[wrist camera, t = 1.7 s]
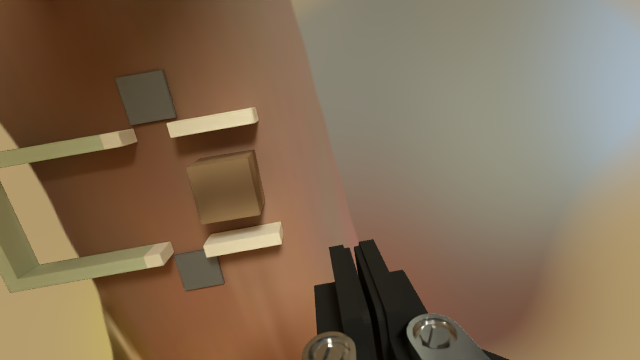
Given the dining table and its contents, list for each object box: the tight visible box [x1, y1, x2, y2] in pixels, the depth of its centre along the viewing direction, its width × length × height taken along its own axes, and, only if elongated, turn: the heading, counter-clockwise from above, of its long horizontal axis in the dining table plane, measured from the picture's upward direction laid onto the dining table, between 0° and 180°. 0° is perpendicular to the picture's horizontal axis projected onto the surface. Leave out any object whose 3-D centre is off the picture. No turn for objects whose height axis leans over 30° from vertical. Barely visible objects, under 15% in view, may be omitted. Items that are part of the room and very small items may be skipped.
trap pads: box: [115, 70, 224, 291], centre depth 30 cm, size 21×4×1 cm, turn 9°
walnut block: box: [186, 150, 265, 224], centre depth 28 cm, size 5×5×4 cm
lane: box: [0, 107, 283, 293], centre depth 29 cm, size 12×25×2 cm, turn 99°
